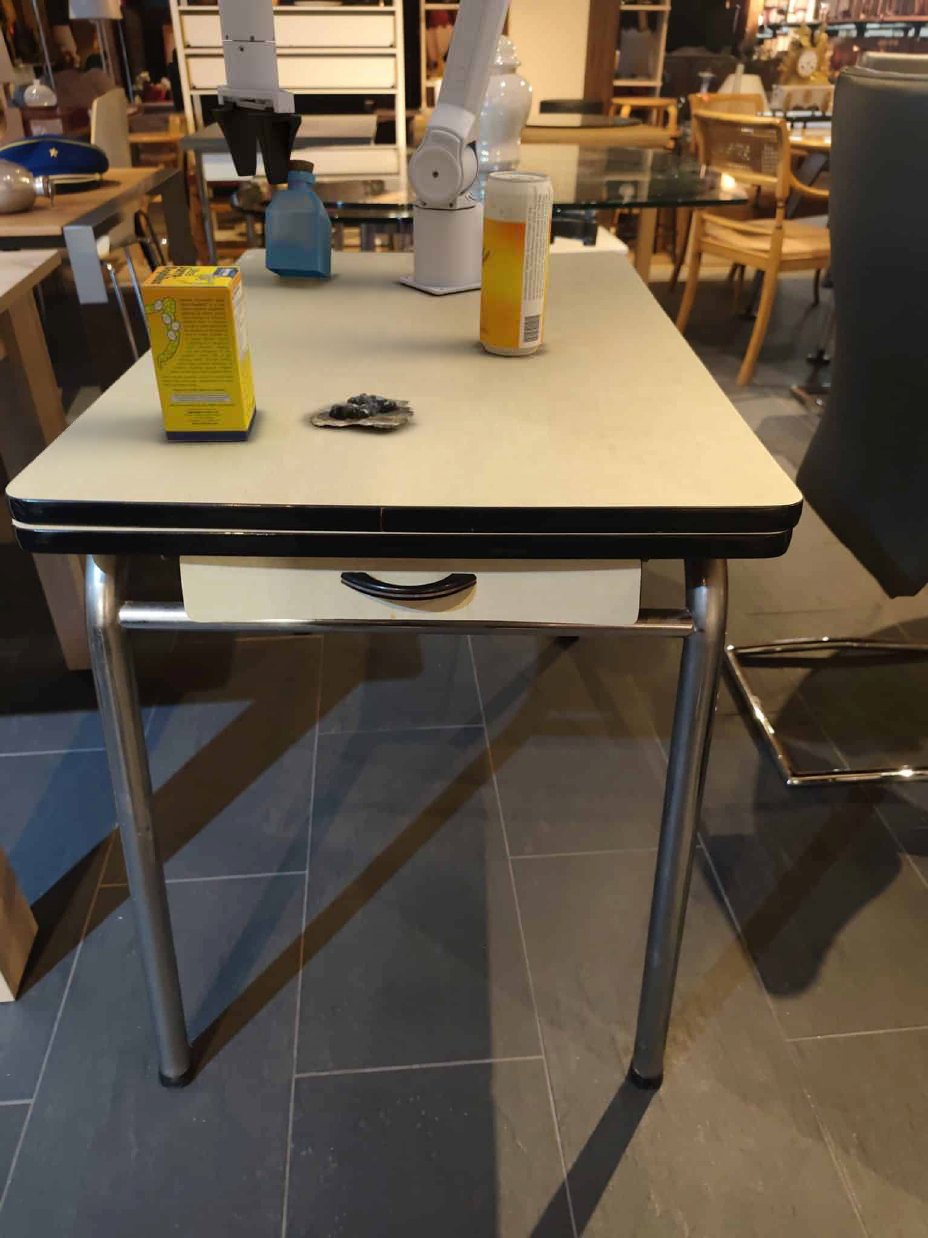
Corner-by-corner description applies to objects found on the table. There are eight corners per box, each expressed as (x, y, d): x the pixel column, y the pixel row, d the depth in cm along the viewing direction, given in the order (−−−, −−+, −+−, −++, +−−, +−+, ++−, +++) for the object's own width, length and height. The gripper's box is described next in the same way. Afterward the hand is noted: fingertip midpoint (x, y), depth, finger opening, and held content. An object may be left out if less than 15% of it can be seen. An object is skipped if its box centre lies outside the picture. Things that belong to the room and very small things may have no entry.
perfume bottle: (330, 278, 108) (332, 171, 105) (318, 270, 102) (320, 156, 99) (280, 276, 108) (281, 169, 105) (265, 268, 102) (266, 154, 99)
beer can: (508, 335, 89) (517, 168, 81) (555, 348, 85) (568, 176, 77) (465, 346, 85) (470, 173, 77) (512, 361, 82) (521, 181, 73)
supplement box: (179, 413, 69) (156, 264, 63) (257, 412, 69) (241, 264, 63) (164, 442, 64) (137, 284, 58) (249, 441, 64) (230, 284, 58)
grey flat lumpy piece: (419, 433, 66) (419, 408, 65) (311, 438, 65) (309, 413, 64) (407, 402, 72) (407, 379, 71) (307, 406, 71) (306, 383, 70)
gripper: (186, 39, 99) (203, 174, 106) (246, 41, 89) (260, 189, 97) (244, 40, 102) (256, 170, 110) (307, 43, 93) (316, 185, 101)
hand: (261, 179), depth 104 cm, fingers open, 7 cm apart
